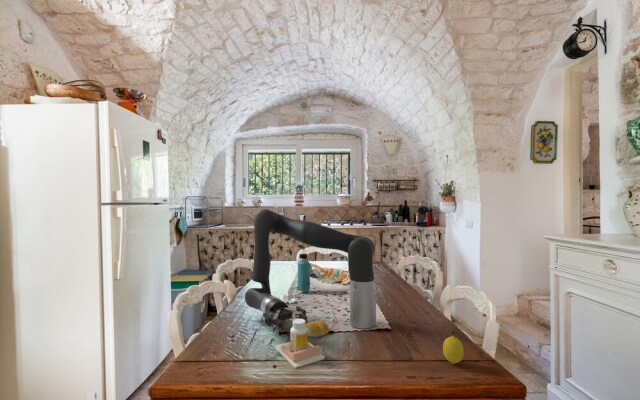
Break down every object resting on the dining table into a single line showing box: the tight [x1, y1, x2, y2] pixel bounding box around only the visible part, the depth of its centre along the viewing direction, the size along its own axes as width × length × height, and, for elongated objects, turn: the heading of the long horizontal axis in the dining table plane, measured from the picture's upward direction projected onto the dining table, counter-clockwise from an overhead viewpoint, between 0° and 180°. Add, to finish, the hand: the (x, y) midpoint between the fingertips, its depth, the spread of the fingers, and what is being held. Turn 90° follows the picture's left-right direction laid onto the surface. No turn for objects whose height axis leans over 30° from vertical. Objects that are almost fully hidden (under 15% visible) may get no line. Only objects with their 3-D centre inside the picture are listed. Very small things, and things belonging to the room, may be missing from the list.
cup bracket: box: [274, 340, 326, 369], centre depth 99 cm, size 15×10×3 cm, turn 31°
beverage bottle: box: [296, 253, 311, 292], centre depth 164 cm, size 6×7×20 cm
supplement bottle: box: [289, 319, 309, 353], centre depth 99 cm, size 5×5×10 cm
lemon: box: [442, 335, 465, 365], centre depth 92 cm, size 6×6×8 cm
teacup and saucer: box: [278, 293, 297, 304], centre depth 148 cm, size 9×8×4 cm
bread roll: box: [305, 320, 330, 338], centre depth 115 cm, size 8×9×4 cm
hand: (294, 323), depth 102 cm, fingers open, 8 cm apart
